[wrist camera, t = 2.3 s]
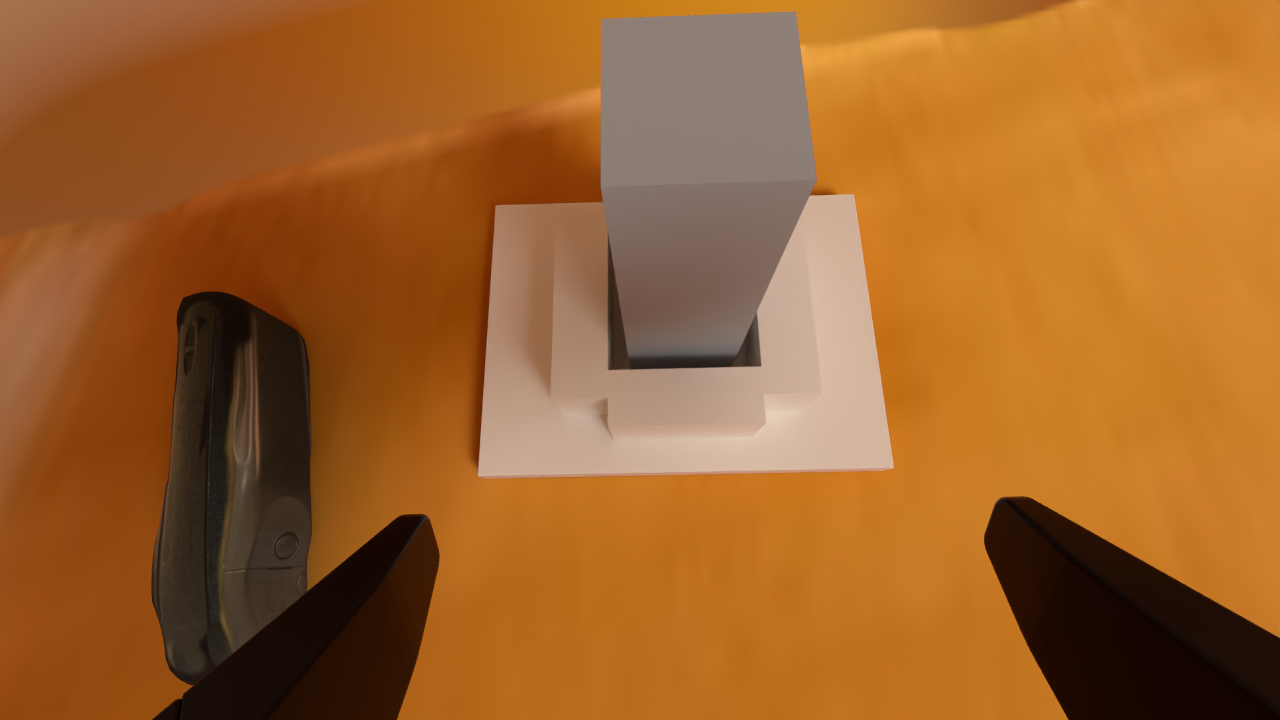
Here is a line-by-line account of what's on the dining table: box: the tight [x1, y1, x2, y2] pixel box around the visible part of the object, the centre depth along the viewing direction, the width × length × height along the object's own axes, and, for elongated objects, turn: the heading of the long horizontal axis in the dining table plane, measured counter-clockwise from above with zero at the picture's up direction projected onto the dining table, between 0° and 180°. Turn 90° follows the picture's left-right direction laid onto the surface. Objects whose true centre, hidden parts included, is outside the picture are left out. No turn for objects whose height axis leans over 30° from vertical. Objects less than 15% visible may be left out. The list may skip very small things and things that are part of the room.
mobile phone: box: [152, 292, 312, 685], centre depth 21 cm, size 5×3×15 cm
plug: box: [601, 12, 817, 370], centre depth 17 cm, size 4×4×13 cm
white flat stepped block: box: [478, 194, 894, 478], centre depth 23 cm, size 16×12×4 cm
